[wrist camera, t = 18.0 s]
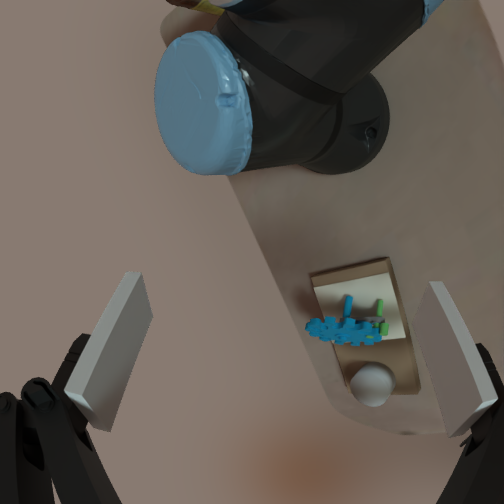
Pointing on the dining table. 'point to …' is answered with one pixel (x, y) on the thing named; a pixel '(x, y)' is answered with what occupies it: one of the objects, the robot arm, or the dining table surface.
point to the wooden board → (365, 305)
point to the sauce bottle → (198, 6)
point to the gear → (350, 327)
